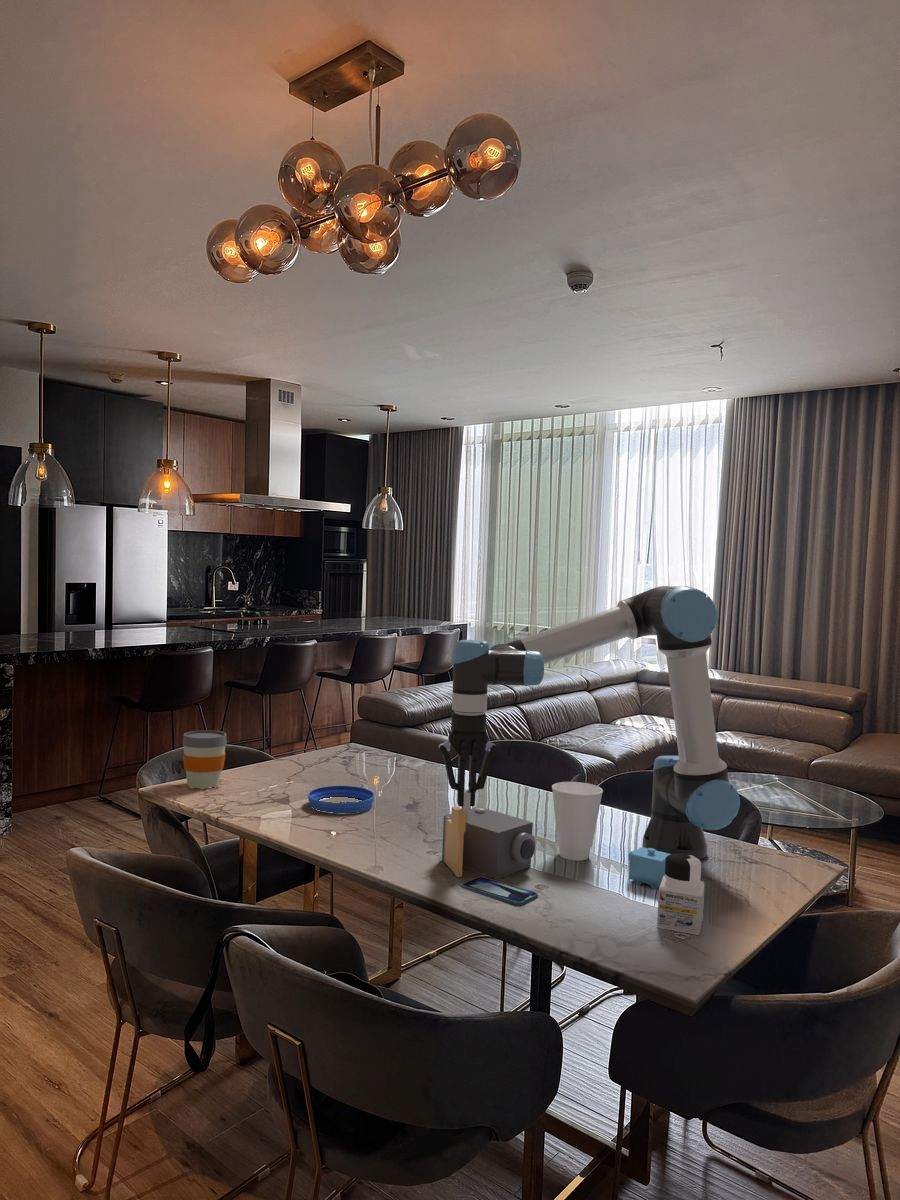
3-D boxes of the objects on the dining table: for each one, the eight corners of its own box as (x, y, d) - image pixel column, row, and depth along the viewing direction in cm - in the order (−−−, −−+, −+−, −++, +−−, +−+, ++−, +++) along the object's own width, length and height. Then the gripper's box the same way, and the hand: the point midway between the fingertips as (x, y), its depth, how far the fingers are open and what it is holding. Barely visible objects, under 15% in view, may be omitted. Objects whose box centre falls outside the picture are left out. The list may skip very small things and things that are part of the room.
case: (539, 869, 185) (541, 822, 184) (505, 882, 176) (507, 832, 176) (477, 848, 197) (478, 804, 197) (442, 859, 188) (444, 813, 188)
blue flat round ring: (366, 796, 240) (366, 784, 240) (380, 814, 223) (381, 801, 223) (303, 798, 234) (303, 786, 234) (313, 817, 217) (313, 804, 217)
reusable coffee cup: (171, 785, 242) (173, 733, 241) (206, 777, 252) (208, 728, 252) (199, 793, 235) (201, 740, 234) (234, 785, 245) (236, 734, 245)
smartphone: (480, 875, 178) (539, 893, 169) (480, 880, 178) (539, 897, 169) (459, 884, 173) (519, 903, 163) (459, 889, 173) (519, 908, 163)
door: (463, 877, 177) (466, 813, 177) (456, 878, 177) (458, 813, 176) (448, 860, 187) (451, 799, 187) (441, 861, 187) (444, 800, 186)
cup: (571, 867, 187) (574, 796, 187) (538, 851, 197) (541, 784, 197) (610, 859, 193) (613, 791, 193) (576, 844, 203) (579, 779, 203)
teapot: (686, 887, 178) (687, 852, 177) (675, 896, 173) (677, 860, 172) (633, 874, 185) (634, 840, 184) (621, 881, 180) (623, 847, 179)
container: (656, 928, 156) (660, 859, 156) (661, 913, 163) (664, 847, 163) (699, 936, 153) (703, 866, 153) (702, 920, 160) (706, 853, 160)
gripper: (494, 709, 184) (491, 815, 184) (437, 709, 182) (433, 816, 182) (502, 715, 176) (498, 825, 177) (442, 715, 174) (438, 826, 175)
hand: (465, 820), depth 180 cm, fingers closed
